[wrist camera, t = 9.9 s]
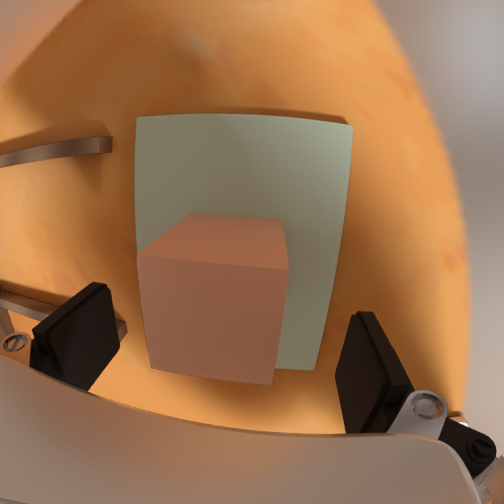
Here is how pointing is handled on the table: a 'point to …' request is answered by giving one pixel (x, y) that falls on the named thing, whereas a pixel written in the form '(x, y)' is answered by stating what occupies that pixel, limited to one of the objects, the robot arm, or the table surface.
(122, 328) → the lane rack
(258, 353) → the block
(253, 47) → the table surface
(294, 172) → the mat
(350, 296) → the table surface
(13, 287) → the table surface
